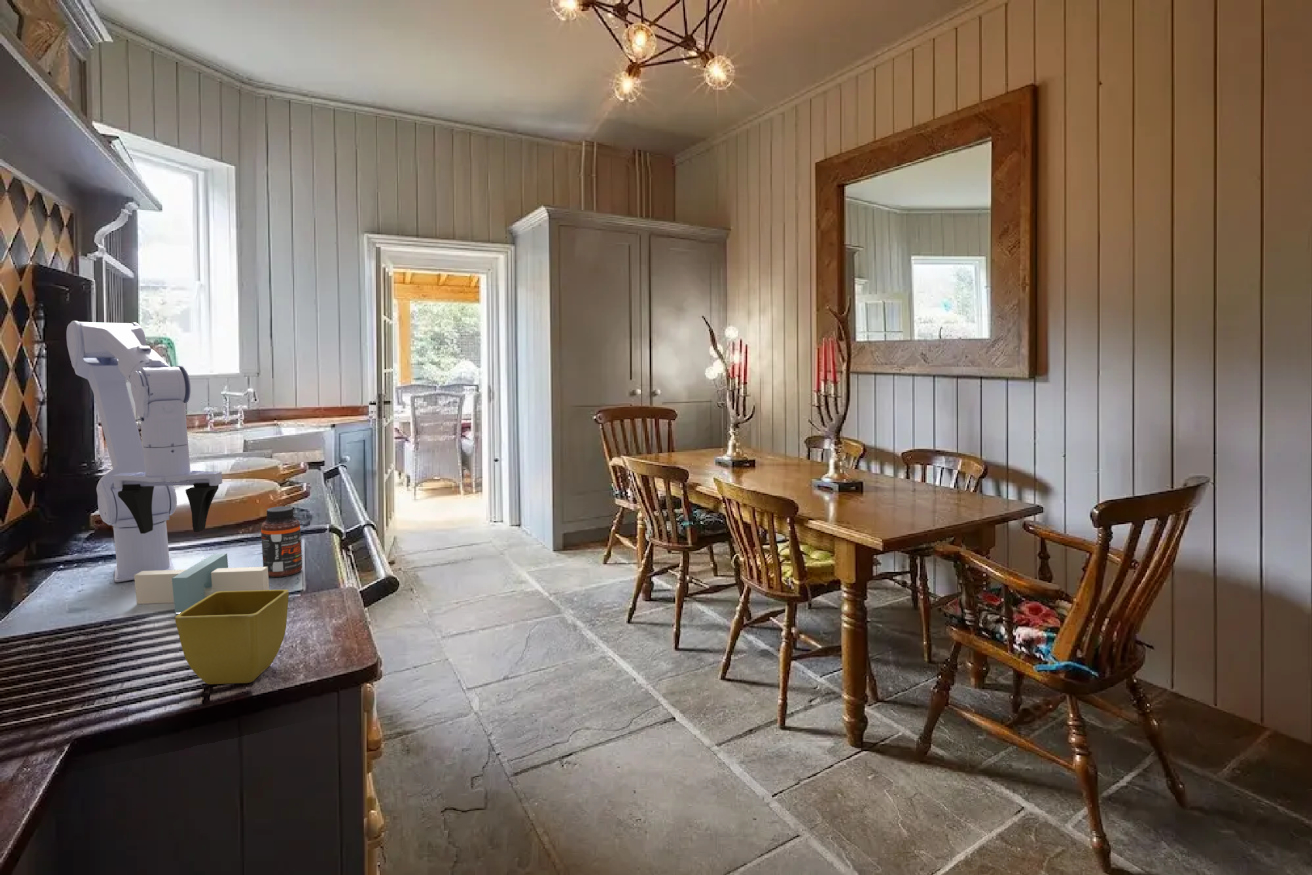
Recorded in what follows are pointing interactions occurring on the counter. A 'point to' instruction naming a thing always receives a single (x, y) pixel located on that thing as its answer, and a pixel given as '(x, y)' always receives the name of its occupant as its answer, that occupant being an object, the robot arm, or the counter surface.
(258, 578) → the cream rail
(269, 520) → the supplement bottle
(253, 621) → the flower pot
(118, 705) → the counter surface
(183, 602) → the teal notched block
